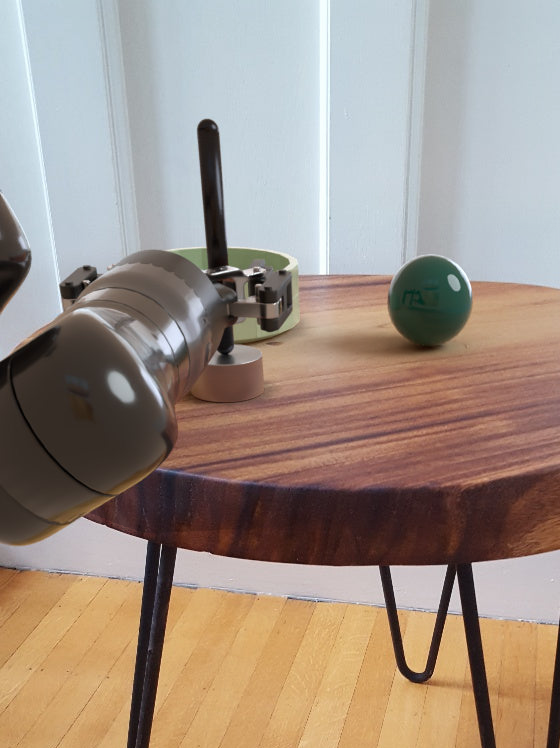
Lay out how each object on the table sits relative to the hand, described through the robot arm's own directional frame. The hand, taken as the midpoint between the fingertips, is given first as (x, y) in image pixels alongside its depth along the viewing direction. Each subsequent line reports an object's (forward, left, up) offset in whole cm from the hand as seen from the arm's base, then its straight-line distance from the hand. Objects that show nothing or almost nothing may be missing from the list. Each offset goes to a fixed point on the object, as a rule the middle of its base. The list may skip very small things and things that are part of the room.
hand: (201, 273), depth 68 cm
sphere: (+20, +18, -11) cm, 29 cm away
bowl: (0, +27, -10) cm, 29 cm away
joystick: (+1, +6, -10) cm, 12 cm away
